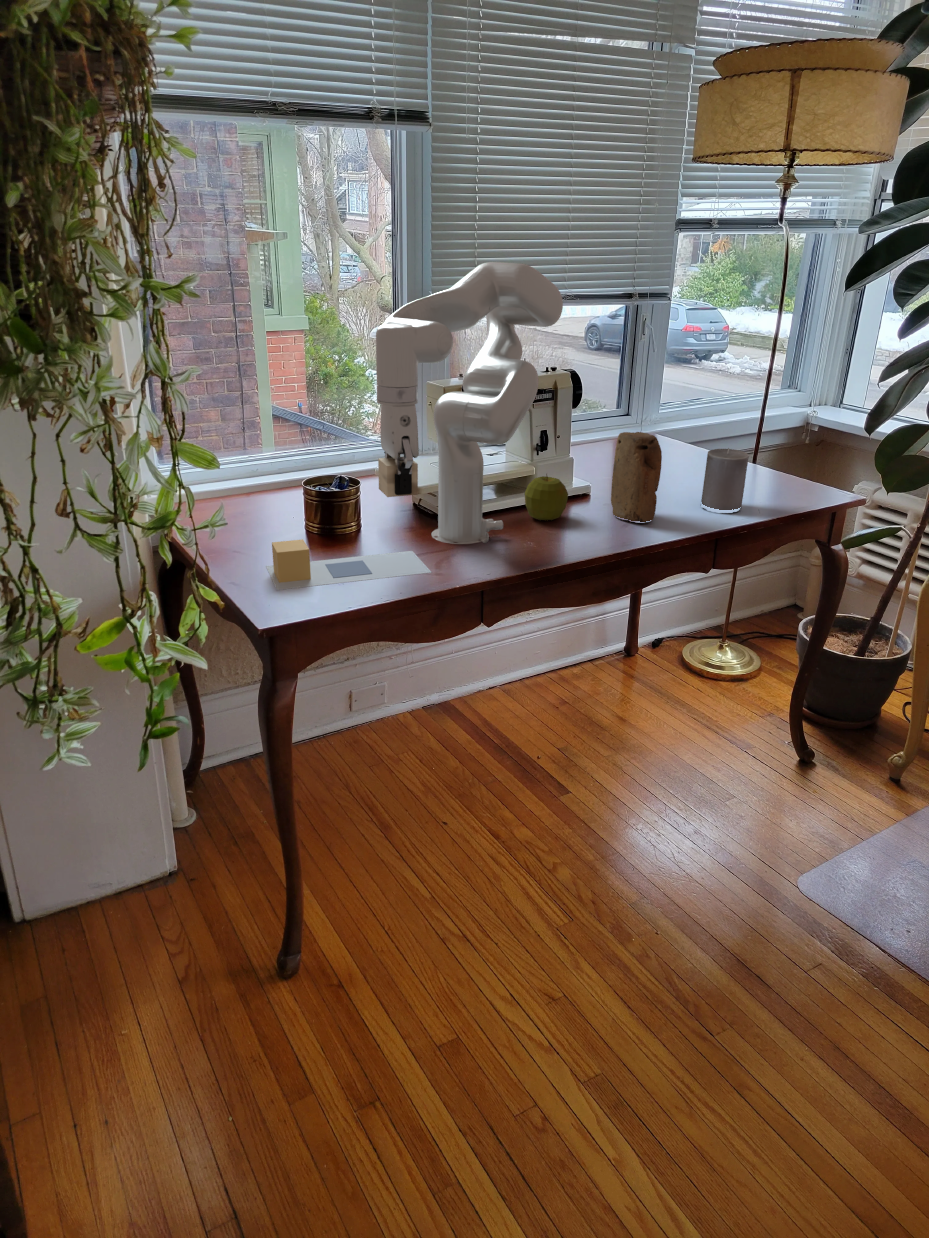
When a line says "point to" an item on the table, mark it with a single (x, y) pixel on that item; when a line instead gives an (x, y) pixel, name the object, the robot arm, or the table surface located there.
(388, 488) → the maple cube
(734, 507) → the pillar candle
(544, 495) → the apple
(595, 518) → the table surface
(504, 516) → the table surface
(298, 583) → the board
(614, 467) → the block
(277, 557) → the ochre cube
